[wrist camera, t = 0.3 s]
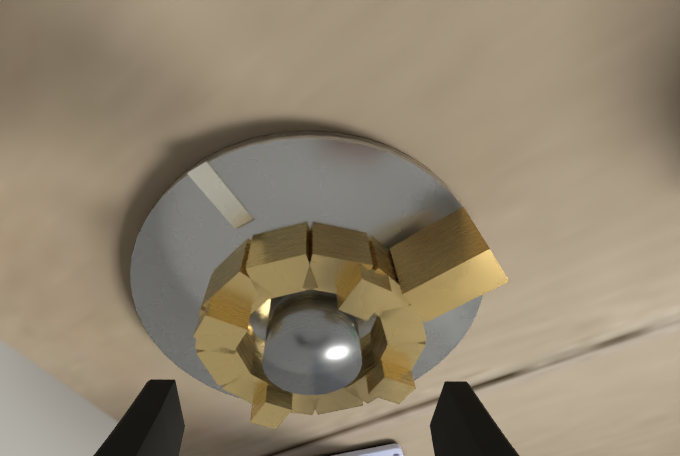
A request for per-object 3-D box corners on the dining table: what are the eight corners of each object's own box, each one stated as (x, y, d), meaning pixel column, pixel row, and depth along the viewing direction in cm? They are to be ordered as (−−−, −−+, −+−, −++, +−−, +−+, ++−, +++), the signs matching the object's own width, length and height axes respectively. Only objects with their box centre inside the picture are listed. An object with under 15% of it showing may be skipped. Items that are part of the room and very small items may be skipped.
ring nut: (489, 340, 23) (514, 393, 20) (253, 390, 24) (245, 447, 21) (476, 179, 17) (509, 221, 14) (170, 255, 18) (144, 308, 16)
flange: (487, 361, 26) (519, 433, 22) (223, 416, 28) (208, 493, 24) (463, 80, 16) (513, 118, 12) (59, 190, 18) (-14, 255, 14)
